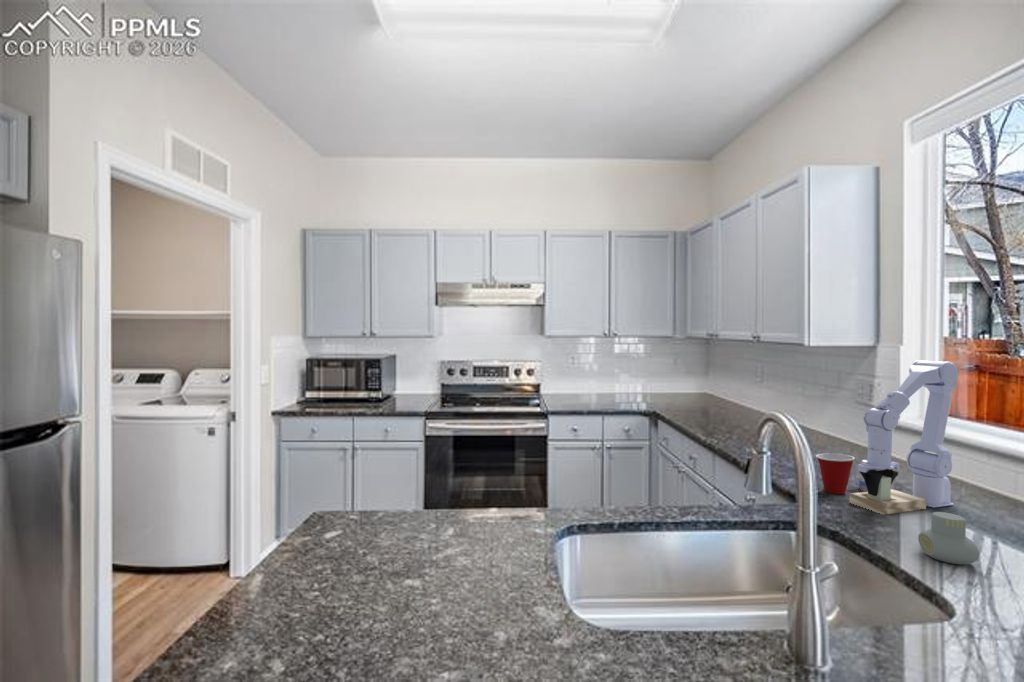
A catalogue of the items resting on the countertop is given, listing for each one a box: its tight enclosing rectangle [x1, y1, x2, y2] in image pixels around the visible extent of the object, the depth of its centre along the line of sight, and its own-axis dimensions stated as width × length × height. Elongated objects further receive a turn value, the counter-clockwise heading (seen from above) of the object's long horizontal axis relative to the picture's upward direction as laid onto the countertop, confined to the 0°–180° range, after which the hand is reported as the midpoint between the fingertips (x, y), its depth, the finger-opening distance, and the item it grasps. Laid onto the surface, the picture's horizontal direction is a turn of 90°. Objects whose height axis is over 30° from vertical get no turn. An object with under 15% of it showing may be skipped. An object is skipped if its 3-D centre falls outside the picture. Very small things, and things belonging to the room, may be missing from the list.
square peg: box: [867, 476, 892, 502], centre depth 148 cm, size 4×4×8 cm
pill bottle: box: [858, 459, 867, 492], centre depth 165 cm, size 6×5×10 cm
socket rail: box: [848, 488, 927, 515], centre depth 149 cm, size 18×10×3 cm, turn 108°
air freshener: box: [917, 511, 980, 566], centre depth 113 cm, size 11×8×10 cm
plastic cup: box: [815, 452, 856, 495], centre depth 163 cm, size 11×11×12 cm
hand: (878, 494), depth 148 cm, fingers closed on square peg, 4 cm apart
